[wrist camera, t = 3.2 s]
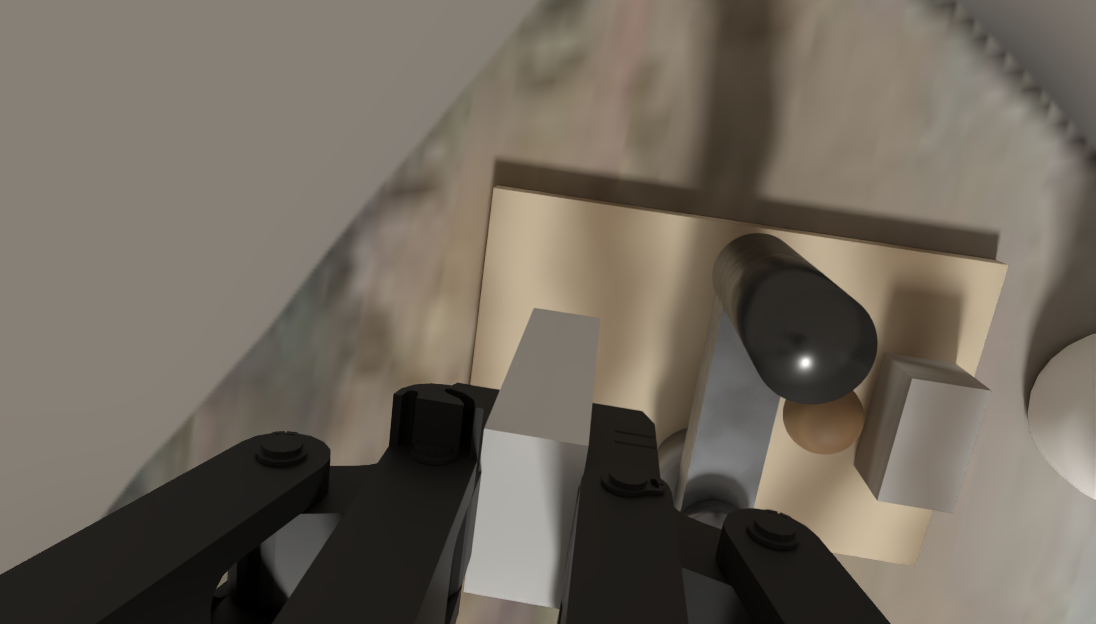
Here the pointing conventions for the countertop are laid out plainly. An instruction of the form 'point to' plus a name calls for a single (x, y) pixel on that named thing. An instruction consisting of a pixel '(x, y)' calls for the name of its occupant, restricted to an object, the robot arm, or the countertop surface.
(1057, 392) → the bottle
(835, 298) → the lever
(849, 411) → the brown ball
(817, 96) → the countertop surface
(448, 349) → the countertop surface
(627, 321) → the board
